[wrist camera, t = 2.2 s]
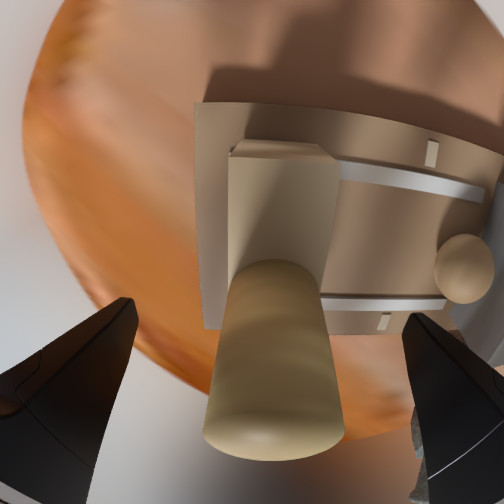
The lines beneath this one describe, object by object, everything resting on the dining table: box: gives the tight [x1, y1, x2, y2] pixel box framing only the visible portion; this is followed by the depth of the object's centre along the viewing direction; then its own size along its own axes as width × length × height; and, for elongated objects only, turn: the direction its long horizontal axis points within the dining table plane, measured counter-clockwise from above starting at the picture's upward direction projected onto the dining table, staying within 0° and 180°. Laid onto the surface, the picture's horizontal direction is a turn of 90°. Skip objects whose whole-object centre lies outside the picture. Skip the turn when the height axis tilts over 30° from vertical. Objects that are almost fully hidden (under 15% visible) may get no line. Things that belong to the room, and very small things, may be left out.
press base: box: [194, 102, 504, 368], centre depth 12 cm, size 19×12×6 cm, turn 88°
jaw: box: [203, 139, 345, 461], centre depth 9 cm, size 3×9×9 cm, turn 178°
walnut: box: [434, 234, 495, 304], centre depth 11 cm, size 4×4×4 cm
